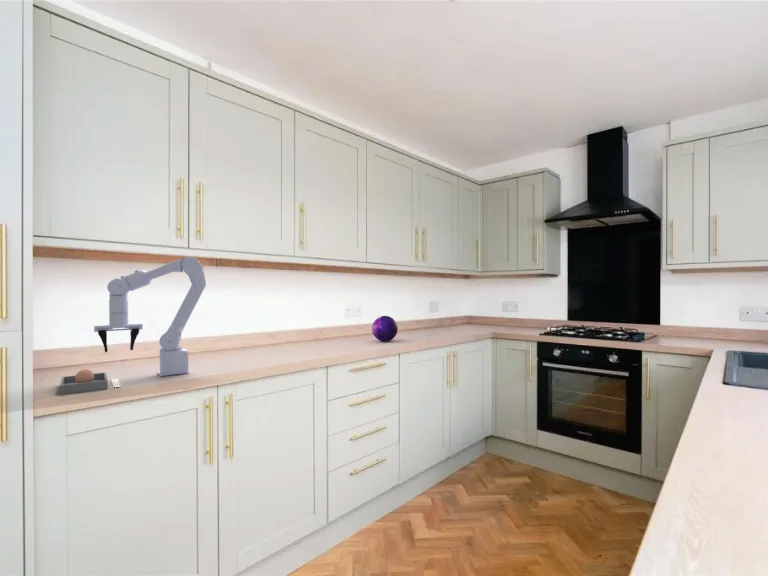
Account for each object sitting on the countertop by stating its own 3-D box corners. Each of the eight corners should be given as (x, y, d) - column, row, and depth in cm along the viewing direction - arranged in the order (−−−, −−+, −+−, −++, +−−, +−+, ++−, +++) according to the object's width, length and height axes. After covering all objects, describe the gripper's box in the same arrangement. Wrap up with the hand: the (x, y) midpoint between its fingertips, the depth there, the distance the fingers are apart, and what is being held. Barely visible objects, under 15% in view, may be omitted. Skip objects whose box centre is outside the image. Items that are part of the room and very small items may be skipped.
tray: (106, 379, 144) (105, 372, 144) (107, 388, 131) (107, 380, 131) (62, 384, 137) (62, 376, 137) (59, 394, 124) (59, 385, 124)
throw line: (118, 378, 146) (118, 378, 146) (120, 387, 133) (120, 387, 133) (111, 379, 145) (111, 379, 145) (113, 388, 132) (113, 388, 132)
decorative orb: (371, 340, 251) (371, 315, 252) (396, 339, 252) (396, 314, 252) (372, 343, 237) (372, 316, 237) (398, 342, 237) (398, 316, 237)
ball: (94, 382, 137) (94, 367, 137) (93, 385, 133) (94, 370, 133) (75, 384, 135) (75, 368, 135) (74, 387, 131) (74, 371, 131)
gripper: (141, 311, 156) (141, 347, 156) (93, 313, 148) (94, 351, 148) (143, 312, 151) (143, 349, 150) (94, 314, 142) (94, 353, 142)
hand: (119, 350), depth 149 cm, fingers open, 7 cm apart
